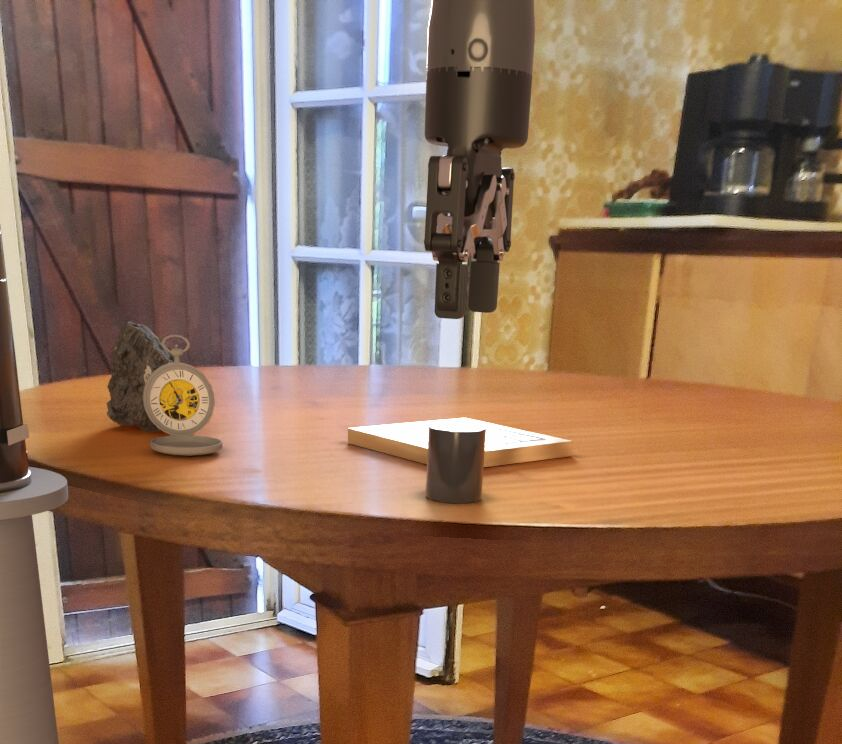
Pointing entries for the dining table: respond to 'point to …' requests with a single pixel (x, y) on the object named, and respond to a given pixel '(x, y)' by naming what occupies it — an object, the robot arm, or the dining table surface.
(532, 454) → the board
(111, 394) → the rock
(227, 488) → the dining table surface
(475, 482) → the cylinder
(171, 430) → the pocket watch
